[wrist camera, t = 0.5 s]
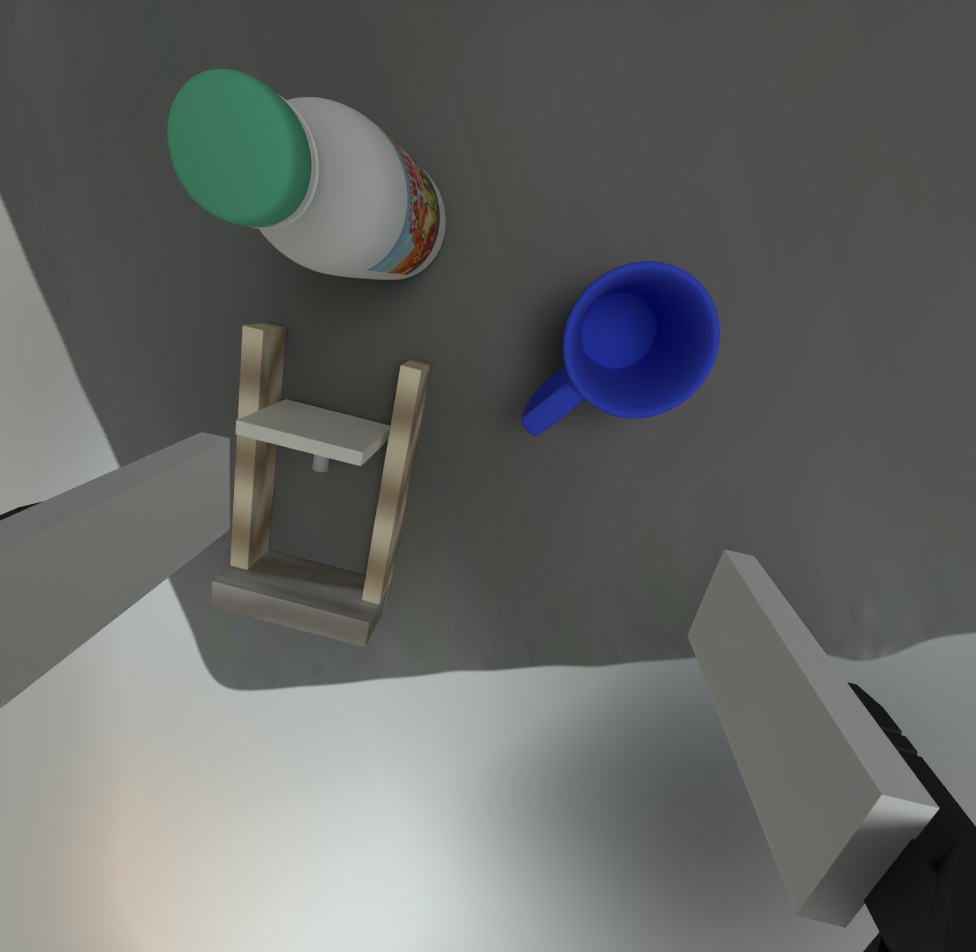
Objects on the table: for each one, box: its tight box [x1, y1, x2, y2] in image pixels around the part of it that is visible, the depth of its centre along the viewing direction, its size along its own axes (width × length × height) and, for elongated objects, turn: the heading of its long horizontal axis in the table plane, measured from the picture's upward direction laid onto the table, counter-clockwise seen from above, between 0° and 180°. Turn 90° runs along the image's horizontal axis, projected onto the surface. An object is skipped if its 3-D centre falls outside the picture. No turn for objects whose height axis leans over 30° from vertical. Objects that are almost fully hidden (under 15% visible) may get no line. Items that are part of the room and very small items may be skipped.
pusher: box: [236, 399, 391, 472], centre depth 38 cm, size 4×9×7 cm, turn 77°
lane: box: [211, 323, 432, 647], centre depth 40 cm, size 22×13×6 cm, turn 167°
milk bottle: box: [167, 69, 446, 280], centre depth 26 cm, size 8×8×20 cm
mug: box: [521, 261, 720, 436], centre depth 32 cm, size 8×12×10 cm
